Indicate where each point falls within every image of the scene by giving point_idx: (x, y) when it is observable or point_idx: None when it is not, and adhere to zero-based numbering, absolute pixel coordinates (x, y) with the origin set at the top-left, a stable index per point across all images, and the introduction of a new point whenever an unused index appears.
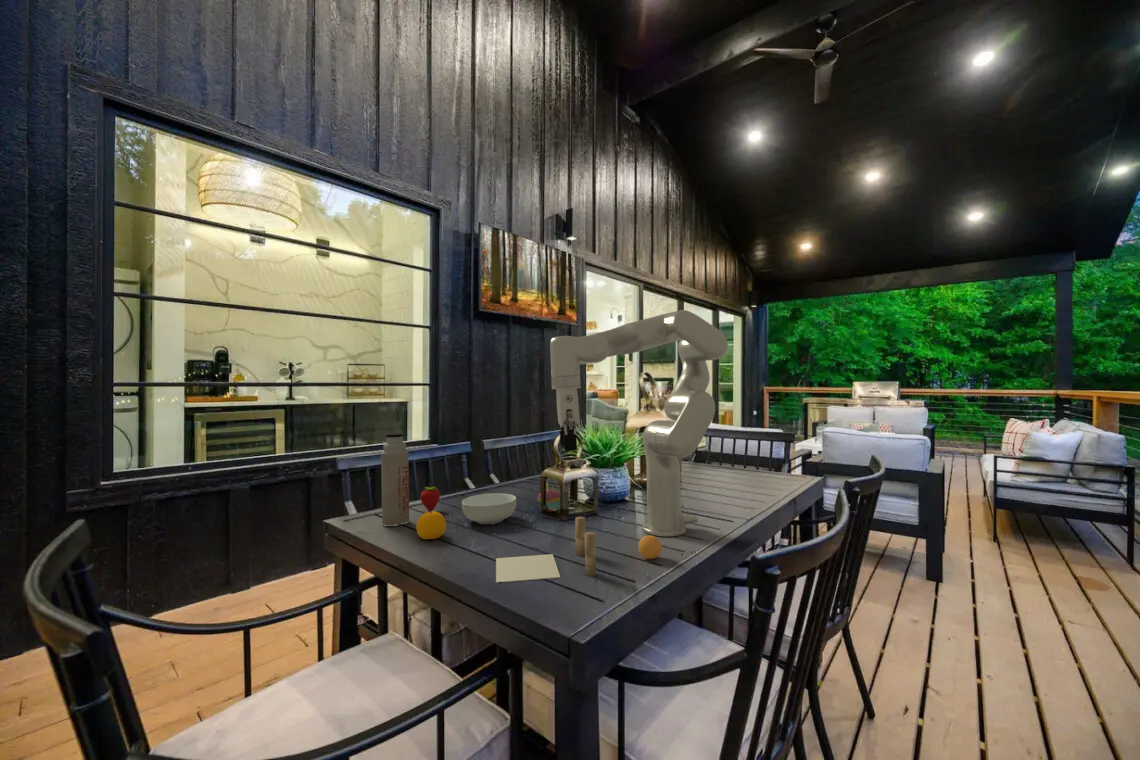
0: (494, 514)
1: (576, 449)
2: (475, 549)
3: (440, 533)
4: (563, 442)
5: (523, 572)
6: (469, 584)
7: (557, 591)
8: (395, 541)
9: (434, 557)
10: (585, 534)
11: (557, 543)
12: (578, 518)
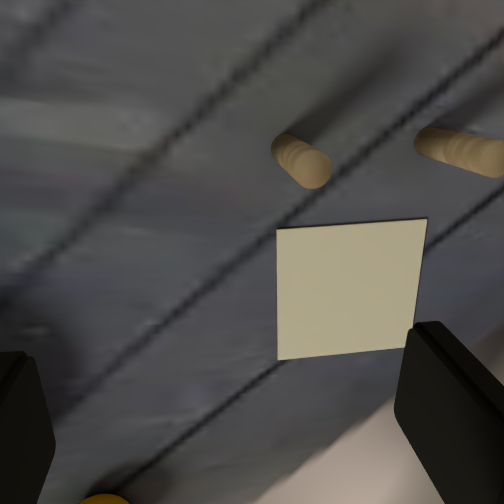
0: None
1: (437, 324)
2: (202, 408)
3: (120, 501)
4: (42, 451)
5: (378, 298)
6: None
7: (489, 228)
8: None
9: (241, 471)
10: (499, 175)
11: (180, 210)
12: (316, 177)
